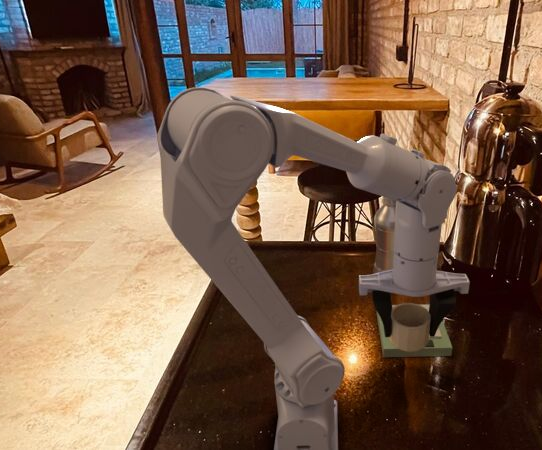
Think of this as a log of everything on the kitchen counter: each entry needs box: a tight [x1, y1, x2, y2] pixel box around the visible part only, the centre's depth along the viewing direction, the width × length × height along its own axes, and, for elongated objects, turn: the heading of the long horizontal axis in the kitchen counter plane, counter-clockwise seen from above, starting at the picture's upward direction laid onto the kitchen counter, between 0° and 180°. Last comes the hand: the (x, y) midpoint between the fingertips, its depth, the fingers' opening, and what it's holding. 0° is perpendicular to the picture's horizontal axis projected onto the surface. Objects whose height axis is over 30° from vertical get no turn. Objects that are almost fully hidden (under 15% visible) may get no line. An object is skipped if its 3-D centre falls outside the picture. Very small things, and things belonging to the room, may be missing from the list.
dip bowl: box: [389, 302, 431, 352], centre depth 58 cm, size 6×6×4 cm
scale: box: [375, 303, 453, 358], centre depth 70 cm, size 11×11×2 cm
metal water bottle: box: [372, 196, 396, 274], centre depth 79 cm, size 6×7×20 cm
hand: (409, 332), depth 58 cm, fingers closed on dip bowl, 6 cm apart
